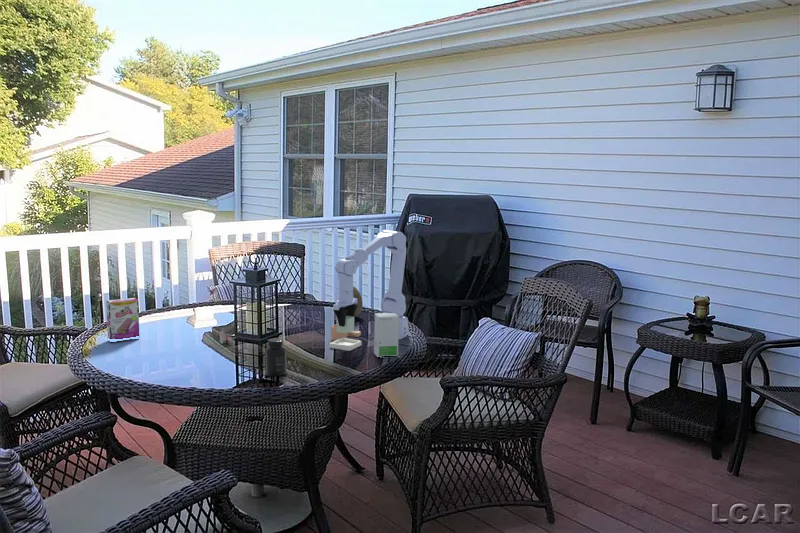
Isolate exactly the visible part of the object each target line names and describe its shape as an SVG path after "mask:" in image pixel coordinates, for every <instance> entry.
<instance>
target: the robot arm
mask: <svg viewBox="0 0 800 533" xmlns="http://www.w3.org/2000/svg"><path fill="white" fill-rule="evenodd" d="M406 243H407V237H406V235H405V234H404V233H403V232H401V231H395V230H388V229H383V230H381V232H379V233H377V235H376V237H374V239H372V240H371V241H370V242H369V243H368V244H367V245H365V246H364V247H362V248H361V247H359V248H355V249H354V251H353V252H352V253H350V254H349V255H346V256H345V258H341V259H339V260H338V261H337V262H336V265H335V266H334V270H335V272H336V273H337V278H338V279H337V280H338V281H337V282H338V283H337V284H338V285H337V287H338V288H337V290H338V294H337V295H338V296H337V297H338V298H337V299H338V300H336V301H335V304H333V308H332V309H333V310H332V311H333V312H334V314H335V316H336V320H337V319H338V323H339V326H342V327H344V326H345V320H346V316H352V317H354V314H355V311H356V309H357V308H358V305H354V303H355V304H356V303H357V298H353V286H354V275H355V274H356V272H357V270H358V268H359V267H360V266H362V265H363V264H364V263H365V262H366V261H368V259H369V255H371V254H373V253H375V252H376V251H378V250H379V249H381V248H383V247H385V248H387V249H389V251H390V253H392V257H391V264H390V265H391V266H390V273H389V280H388V281H389V283H388V289H387V290H388V291H387V292H386V293H384V294H383V299H382V301H381V303H380V309H381V311H382V313H395V314H397V315H398V316H399V339H398V340H402V339H404V338H406V337H408V336H409V335H408V334H409V318H408V317H407V316H404V314H405V313H406V310H407V304H406V296H405V295H404V294H403V292H402V291H403V282H404V276H405V275H404V274H405V266H406V265H405V264H406V256H407V246H406V245H407V244H406ZM354 318H355V317H354ZM407 335H408V336H407Z"/></svg>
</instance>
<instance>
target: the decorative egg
mask: <svg viewBox="0 0 800 533" xmlns="http://www.w3.org/2000/svg"><path fill="white" fill-rule="evenodd" d="M353 298H357V303H356V304H355V303H354V305H358V308H357V309H356V311H355V314H354V318H355V317H357V316H358V315H359V314H360V313H361V312H362V309H363V305H364V304H363V299H362V295H361V293H360V291H359V290H358V289H357V287H356V286H354V285H353Z"/></svg>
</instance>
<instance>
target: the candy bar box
mask: <svg viewBox="0 0 800 533" xmlns="http://www.w3.org/2000/svg"><path fill="white" fill-rule="evenodd" d="M105 305H106V308H105V309H106V326H107V328H106V329H107V339H108V338H109V339H123V338H130V337H136V336H139V337H140V321H139V318H140V317H139V300H138V298H136V297H130V298H120V299H107V300H106V301H105Z"/></svg>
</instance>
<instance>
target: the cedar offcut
mask: <svg viewBox="0 0 800 533" xmlns="http://www.w3.org/2000/svg"><path fill="white" fill-rule="evenodd" d="M361 335H362V331H361V330H354V331H352V332H349V333H347V337H352V338H353V337H354V338H359V337H360V336H361Z"/></svg>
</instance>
